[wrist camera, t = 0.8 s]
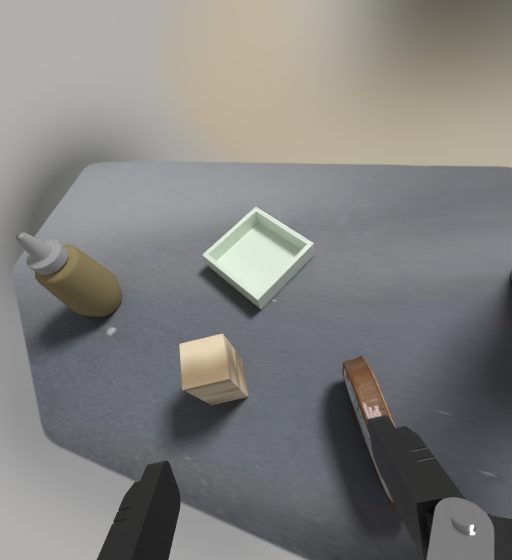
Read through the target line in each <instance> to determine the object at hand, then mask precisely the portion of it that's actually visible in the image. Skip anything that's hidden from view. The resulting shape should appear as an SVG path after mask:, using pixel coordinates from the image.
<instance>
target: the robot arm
mask: <svg viewBox="0 0 512 560" xmlns="http://www.w3.org/2000/svg"><path fill="white" fill-rule="evenodd" d="M511 280H512V274H511ZM367 423H368V429H369V435H370V441H371V447H372V452H373V456H374V460H375V462H376V465H377V468H378V470H379V472H380V474H381V476H382V478H383V480H384V482H385V484H386V486H387V488H388V490H389V492H390V495H391V497H392V499H393V501H394V503H395V505H396V507H397V509H398V511H399V513H400V515H401V517H402V519H403V521H404V523H405V525H406V527H407V529H408V531H409V533H410V536H411V538H412V540H413V542H414V544H415V546H416V548H417V550H418V552H419V554H420V556H421V558H422V560H512V519H507V518H500V517H496V516H492V515H489V514H487V513H485V512H484V511H483V510H482V509H481V508H480V507H478V506H477V505H475V504H474V503H472V502H470V501H468V500H466V499H465V498H464V497H463V495H462V494H461V493H460V491H459V490H458V489H457V487H456V486H455V484H454V483H453V482H452V480H451V479H450V478H449V476H448V475H447V474H446V472H445V471H444V469H443V468H442V467H441V465H440V464H439V463H438V461H437V460H436V459H435V458H434V456H433V455H432V453H431V452H430V450H429V449H427V446H426V445H425V444H424V442H423V441H422V440H421V438H420V437H419V435H417V434H416V433H415V432H413V431H412V430H410V429H409V428H407V427H406V426H405V427H400V428H395V426H394V424H393V423H392V421H391V420H390V418H389V417H388V416H387V415H383V416H379V417H374V418H369V419H367ZM179 511H180V493H179V489H178V486H177V483H176V481H175V478H174V475H173V472H172V469H171V466H170V464H169V462H168V461H163V462H158V463H153V464H149V465H147V467H146V468H145V471H144V473H143V476H142V478H141V481H139V482H135V483H134V484H133V485H132V487H131V488H130V489H129V490H128V492H127V493H126V494H125V496H124V498H123V500H122V503H121V505H120V507H119V512H117V514H116V517H115V519H114V524H112V526H111V528H110V530H109V533H108V535H107V537H106V540H105V542H104V544H103V547H102V549H101V552H100V554H99V556H98V558H97V560H168V559H169V554H170V549H171V546H172V541H173V536H174V532H175V528H176V524H177V519H178V515H179Z"/></svg>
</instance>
